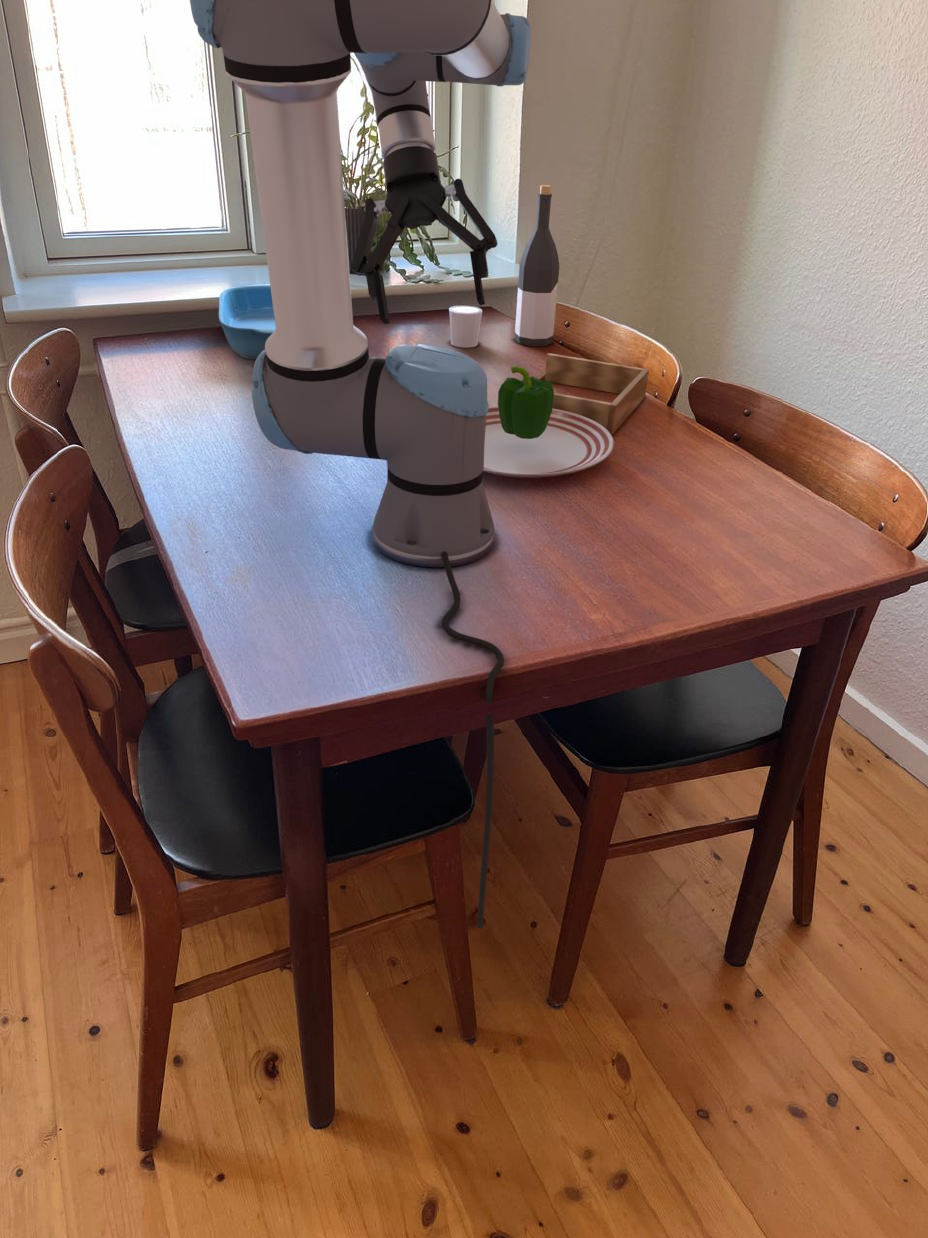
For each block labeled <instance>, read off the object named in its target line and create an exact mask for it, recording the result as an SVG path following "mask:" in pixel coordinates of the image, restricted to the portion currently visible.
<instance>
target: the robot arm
mask: <svg viewBox="0 0 928 1238" xmlns="http://www.w3.org/2000/svg"><path fill="white" fill-rule="evenodd" d="M189 4H190V10H191V15H192V19H193V22H194V24H195V25H196V27H197V33H198V35H199V36H200V38H201V39H202V40H203V42H204V43H206V44H207V45H209V46H211V47H212V48H214V49H220V48H221V50H222V55H223V62H224V70H225V74H226V76H227V77H228V78H229V79H230V80H231V81H232V82H234V84H235V85H236V86H237V87H238V88H240V90H242V91H243V92H244V96H245V100H246V101H245V102H246V110H247V117H248V118H247V119H248V125H249V132H250V140H251V148H252V157H253V165H254V170H255V178H256V187H257V194H258V201H259V210H260V217H261V224H262V225H261V226H262V232H263V241H264V248H265V257H266V263H267V271H268V277H269V278H268V279H269V284H270V287H271V294H272V302H273V310H274V317H275V325H276V330H275V331H274V332H273V334H272V335H271V336H270V337H269V338H268V339H267V341H266V343H265V350H264V351H262V352H261V353H260V354H259V356H258V357H257V359H255V361H254V365H253V369H252V375H251V382H252V385H253V389H252V390H251V400H252V406H253V410H254V414H255V417H256V422H257V424H258V427H259V429H260V431H261V432H262V434H263V436H264V437H265V439H267V441H268V442H269V443H271V444H272V445H273V446H275V447H277V448H279V449H283V450H287V451H288V450H289V451H295V452H299V453H302V454H305V455H312V454H319V455H320V454H322V455H332V456H342V457H352V458H361V459H370V460H371V459H372V460H382V461H386V466H387V469H386V471H387V475H386V476H387V479H386V484H385V487H384V490H383V493H382V495H381V499H380V502H379V505H378V507H377V510H376V514H375V516H374V519H373V523H372V542H373V544H374V546H375V547H376V549H377V550H378V551H379V552H380V553H382V554H383V555H385V556H386V557H388V558H389V559H392V560H394V561H397V562H399V563H403V564H407V565H411V566H415V567H423V568H444V569H445V574H446V576H447V581H448V583H449V586H450V588H451V591H452V595H453V604H452V606H451V608H450V609H449V610H448V611H447V612H446V613H445V615H444V616H443V617H442V621H441V626H442V628H443V630H444V632H445V633H446V634H447V636H449V637H451V638H453V639H455V640H458V641H461V642H464V643H467V644H472V645H475V646H478V647H481V648H483V649H486V650H488V651H490V652H491V653H493V655H494V656H495V657H496V663H495V665H494V666H493V667H492V669H491V671H490V673H489V675H488V677H487V681H486V686H485V702H486V703H488V704H491V703H492V702H493V701H494V699H493V698H494V687H495V681H496V680H497V677H498V675H499V673H500V672H501V670H502V669H503V667H504V663H505V657H504V655H503V653H502V651H501V650H500V649H499V648H498V647H497V645H495V644H493V643H492V642H489V641H487V640H484V639H482V638H477V637H474V636H470V635H467V634H464V633H461V632H459V631H456V630H454V629H452V627H450V624H449V623H450V620H451V619H452V618H453V617H454V615H455V614H456V613H457V612H458V611H459V609H460V606H461V594H460V590H459V587H458V584H457V582H456V579H455V576H454V572H453V568H452V567H457V566H462V565H467V564H469V563H473V562H475V561H477V560H479V559H481V558H483V557H484V556H486V555H487V554H488V553H490V551H491V550H492V549H493V547H494V543H495V523H494V519H493V516H492V513H491V509H490V506H489V502H488V498H487V495H486V491H485V488H484V471H483V468H484V447H485V429H486V414H487V413H488V409H489V406H490V405H489V401H488V377H487V374H486V371H485V370H484V368H483V367H482V365H481V364H480V363H478V362H477V361H476V360H474V359H473V358H471V357H470V356H468V355H466V354H465V353H462V352H459V351H457V350H454V349H450V348H446V347H443V346H437V345H432V344H423V343H416V344H415V345H413V344H409V343H405V344H400V345H396V346H393V347H392V348H391V349H389V350H388V353H387V355H386V356H385V358H383V357H382V358H380V357H372V356H370V352H369V341H368V337H367V336H366V334H365V333H364V332H363V331H361V329H359V328H358V327H357V326H356V325H354V317H353V303H352V288H351V276H350V275H351V274H350V273H351V272H350V267H351V270H352V271H353V272H354V273H355V274H356V275H357V276H358V277H361V276H365V277H366V283H367V290H368V295H369V297H370V299H372V300H373V301H377V308H378V314H379V320H380V321H381V322H382V323H383V324H384V325H388V324H391V321H390V314H389V306H388V301H387V295H386V288H385V282H384V277H383V276H384V275H382V274H381V272H380V270H381V268H382V267H383V265H384V263H385V261H386V260H387V258H388V256H389V254H390V253H391V251H392V249H393V247H394V246H395V243H396V242H397V240H398V239H399V237H400V236H402V234H403V232H404V231H405V229H409V230H414V229H415V230H416V229H417V228H419V227H428V226H432V225H433V223H434V222H436V221H437V222H438V223H440V224H441V225H442V226H443V227H445V228H446V229H448V230H449V231H450V232H451V233H453V234H454V235H455V236H456V237H457V238H458V240H459V239H460V240H461V242H462V243H464V244H465V245H466V246H468V247H469V248H470V249H471V251H469V256H470V262H471V268H472V275H473V276H472V277H473V283H474V290H475V296H476V301H477V303H478V305H479V306H484V305H486V301H485V294H484V289H483V288H484V287H483V282H482V279H486V278H489V266H488V261H487V260H488V259H487V253H488V251H490V250H491V249H495V248H496V247H497V246H498V240H497V237H496V235H495V233H494V232H493V230H492V229H491V227H490V226H489V225H488V223H487V222H486V220H485V219H484V217H483V216H482V215H481V213H480V211H479V210H478V209H477V207H475V204H474V203H473V201H472V200H471V199H470V197H469V196H468V194H467V191H466V187H465V185H464V182H463V180H462V179H461V178H455V180H454V181H453V183H451V184H448V185H446V186H443V184H442V180H441V174H440V167H439V160H438V155H437V153H436V147H437V146H436V141H435V134H434V133H435V132H434V128H433V121H432V116H431V111H430V104H429V96H428V88H427V82H435V83H457V84H459V83H460V84H471V85H472V84H473V85H488V86H496V87H500V88H501V87H504V86H521V85H522V84H524V83H525V82H526V80H527V77H528V73H529V68H530V67H529V66H530V57H531V38H532V33H531V22H530V21H529V19H528V17H526V16H523V15H514V14H511V13H510V12H509V13H508V12H505V13H503V14H501V13H500V12H499V10H498V8H497V6H496V5H495V3H494V1H493V0H189ZM352 53H353V54H354V56H355V58H356V59H357V61H358V63H359V65H360V68H361V70H362V72H363V74H364V77H365V80H366V82H367V85H368V87H369V90H370V92H371V97H372V102H373V103H372V104H373V108H374V114H375V119H376V127H377V134H378V143H379V149H380V156H381V158H382V160H383V161H382V168H383V175H384V176H383V177H384V182H385V188H386V197H385V198H384V199H381V200H379V199H378V200H374V199H373V198H371V197H369V198H367V199H366V200H365V201H364V207H365V217H364V220H363V223H362V227H361V230H360V234H359V237H358V241H357V244H356V248H355V251H354V254H353V257H352V262H351V265H350V259H349V245H348V232H347V219H346V205H345V204H346V203H345V191H344V178H343V177H344V176H343V175H344V174H343V162H342V148H341V135H340V120H339V119H340V117H339V107H338V90H339V88H340V87H341V85H342V84H343V83H344V82H345V80H346V79H347V78H348V76H349V75H350V74H351V72H352V59H351V54H352ZM447 197H450V198H451V199H452V201H454V202H459V204H460V206H461V208H462V210H463V212H465V213H466V215H467V216H468V218H469V219H470V221H471V222H472V223H473V225H474V226H475V228H476V229H477V231H478V233H480V235H481V236H482V239H479V238H478V237H477V236H476V235H474V233H473V232H471V231H470V230H469V229H468V228H467V227H465V226H464V225H463V224H462V223H460V222H459V221H458V220H457V219H456V218H454V216H452V215H451V214H450V213H449V212H448V211H447V210H446V209H445V208H444V204H445V202H446V201H447ZM385 211H388V213H389V214H390V215H391V216H390V218H389V220H388V222H387V226H386V228H385V229H384V231H383V233H382V235H381V237H380V238H379V240H378V241H377V243H376V245H375V247H374V249H373V250H372V253H371V249H372V246H373V244H374V243H373V242H374V239H375V236H376V233H377V229H378V225H379V219H381V218H382V217H383V216H384V215H383V214H384V213H385ZM485 724H486V749H487V750H486V783H485V784H486V785H485V787H486V788H485V808H484V827H483V841H482V852H481V853H482V854H481V864H480V878H479V889H478V890H479V891H478V903H477V918H476V927H477V929H483V928H484V919H485V918H484V917H485V904H486V892H487V891H486V890H487V881H488V880H487V878H488V867H489V856H490V846H491V845H490V844H491V833H492V832H491V831H492V818H493V817H492V816H493V802H494V801H493V800H494V799H493V798H494V777H495V776H494V772H495V771H494V770H495V725H494V714H493V713H491V714H487V715H485Z"/></svg>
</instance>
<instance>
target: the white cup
mask: <svg viewBox="0 0 928 1238" xmlns="http://www.w3.org/2000/svg"><path fill="white" fill-rule="evenodd" d="M448 315H449V335H450V345H452V346H453V347H457V348H462V349H463V348H466V349H468V348H475V347H477V346H478V345H479V339H480V331H481V326H482V317H483V309H482V308H480V307H477V306H475V305H474V306H473V305H454V306H453V305H452V306H450V307H449V308H448Z"/></svg>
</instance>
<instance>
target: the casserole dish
mask: <svg viewBox="0 0 928 1238" xmlns="http://www.w3.org/2000/svg"><path fill="white" fill-rule="evenodd" d="M218 320H219V323H220V326H221V327H222V330H223V333H224V336H225V338H226V341H227V342H228V344H229V346H230V348H231V349H232V350H233V352H235V353H236V354H237V355H239V356H240V357H242V359H247V360H256V359H257V357H258V356H259V354H260V353H261V352H262V351H264V350H265V343H266V341H267V339H268V338H269V337H270V336H271V335H272V334H273V332H274V331H275V330H276V325H275V317H274V310H273V302H272V294H271V287H270V283H260V284H259V283H258V284H250V285H241V286H233V287H228V288H226V289H224V290H222V291H221V293H220V294H219V298H218Z"/></svg>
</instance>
